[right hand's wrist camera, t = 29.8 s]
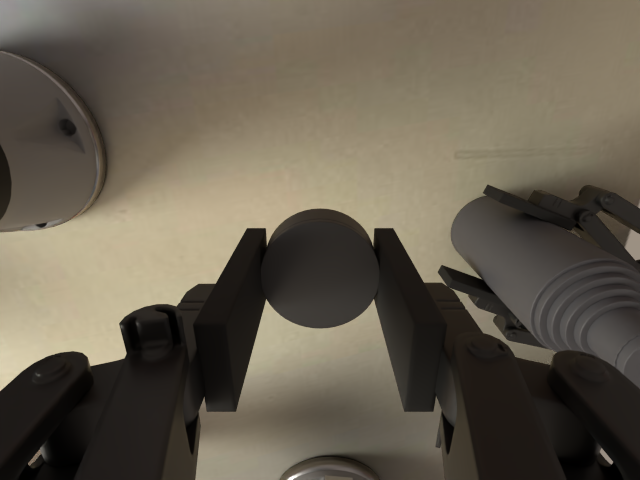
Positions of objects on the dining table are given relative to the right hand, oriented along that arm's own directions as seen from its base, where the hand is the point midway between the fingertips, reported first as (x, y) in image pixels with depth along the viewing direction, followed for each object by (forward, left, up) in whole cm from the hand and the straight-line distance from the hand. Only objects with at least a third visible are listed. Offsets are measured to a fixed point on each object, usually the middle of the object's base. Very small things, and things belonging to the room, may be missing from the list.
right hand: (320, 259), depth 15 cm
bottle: (+3, -18, -20) cm, 27 cm away
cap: (0, 0, +1) cm, 1 cm away
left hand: (+2, -13, -13) cm, 19 cm away
